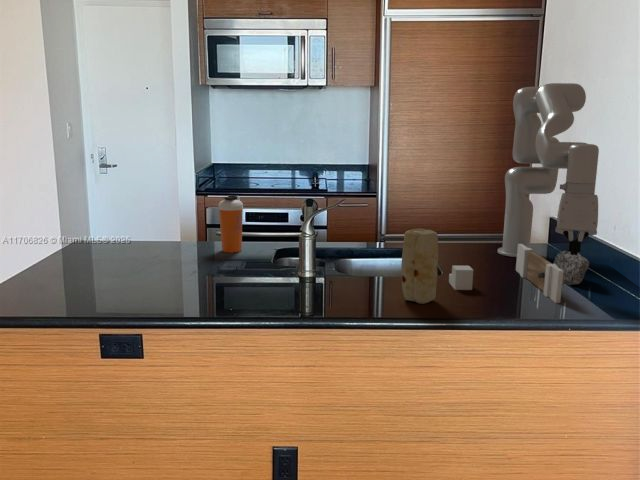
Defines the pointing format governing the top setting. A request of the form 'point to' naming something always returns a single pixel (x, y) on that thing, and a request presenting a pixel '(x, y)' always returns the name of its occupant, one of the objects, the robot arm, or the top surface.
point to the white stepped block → (461, 277)
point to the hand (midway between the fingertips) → (573, 254)
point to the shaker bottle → (231, 223)
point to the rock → (571, 267)
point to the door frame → (551, 274)
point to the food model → (419, 265)
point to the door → (536, 269)
